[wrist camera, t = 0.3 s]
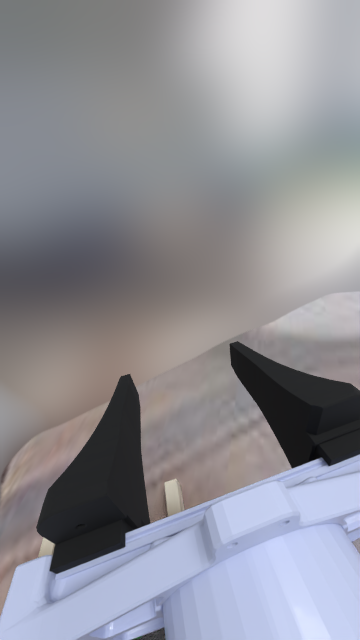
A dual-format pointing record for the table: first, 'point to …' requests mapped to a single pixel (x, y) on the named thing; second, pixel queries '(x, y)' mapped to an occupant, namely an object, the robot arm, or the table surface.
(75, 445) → the table surface
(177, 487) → the guide rails
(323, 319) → the table surface
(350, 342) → the table surface
